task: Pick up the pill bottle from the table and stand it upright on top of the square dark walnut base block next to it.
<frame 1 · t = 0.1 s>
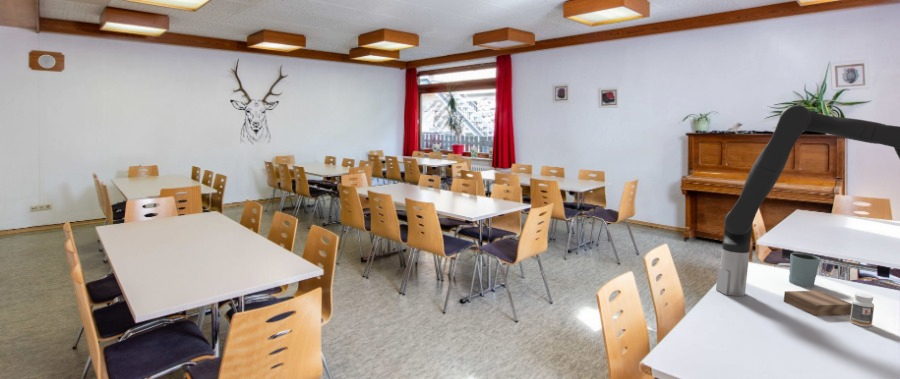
walnut base: (816, 308, 175), on the table
green plant pot: (801, 284, 203), on the table
pill bottle: (860, 324, 162), on the table
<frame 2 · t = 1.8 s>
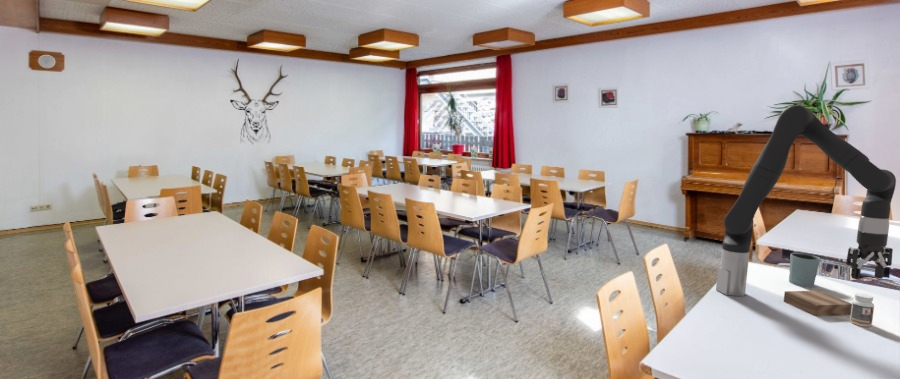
hand: (866, 278, 160), 16 cm above the table, tool pointing down, fingers open, 8 cm apart
nothing on the table moved.
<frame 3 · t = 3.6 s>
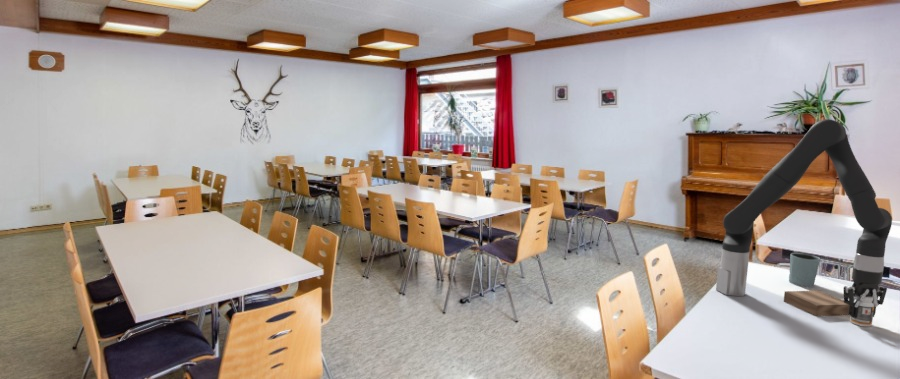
hand: (861, 316, 161), 3 cm above the table, tool pointing down, fingers closed on pill bottle, 5 cm apart
pill bottle: (860, 324, 162), on the table, touching gripper
everything else where it was.
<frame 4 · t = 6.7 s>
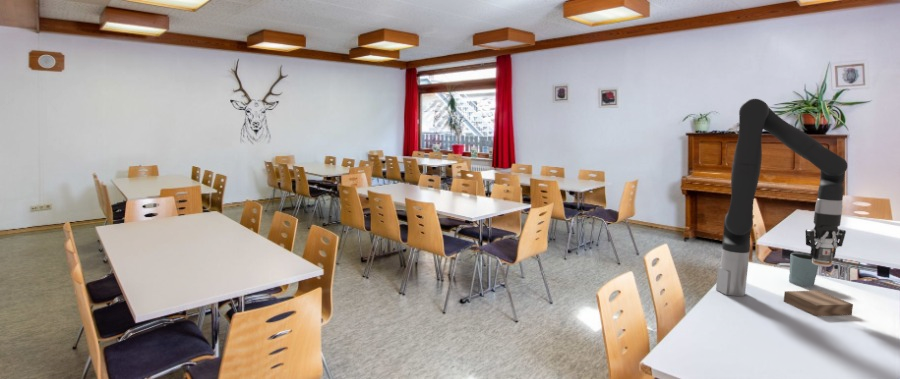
hand: (822, 257, 173), 19 cm above the table, tool pointing down, fingers closed on pill bottle, 5 cm apart
pill bottle: (821, 265, 173), point 16 cm above the table, touching gripper
everything else where it was.
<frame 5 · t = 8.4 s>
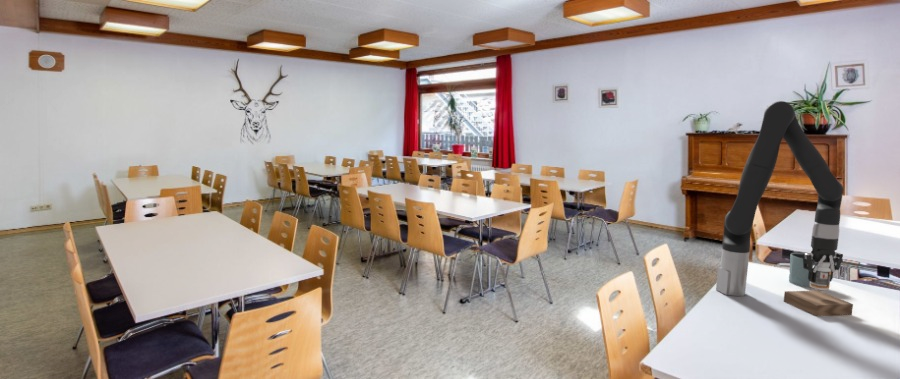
hand: (819, 281, 174), 10 cm above the table, tool pointing down, fingers closed on pill bottle, 5 cm apart
pill bottle: (818, 288, 174), point 7 cm above the table, touching gripper
everything else where it was.
when the fingers open (8 cm above the table, at t = 10.0 s): pill bottle drops 1 cm, resting on walnut base.
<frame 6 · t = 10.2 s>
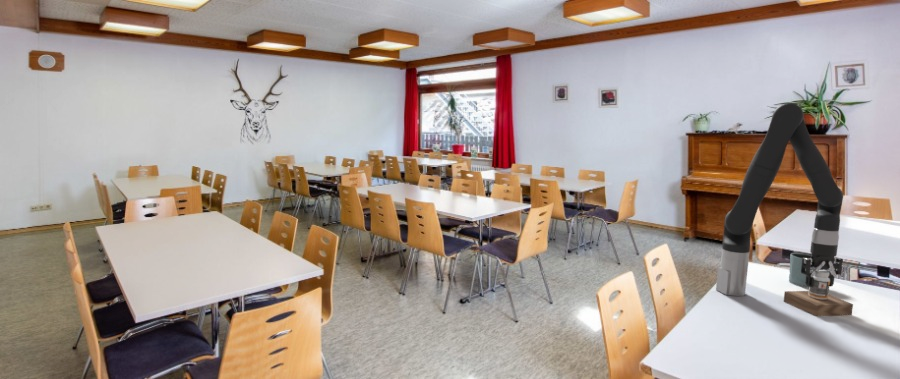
hand: (819, 285, 174), 8 cm above the table, tool pointing down, fingers open, 7 cm apart
pill bottle: (817, 297, 175), point 4 cm above the table, touching walnut base
everything else where it was.
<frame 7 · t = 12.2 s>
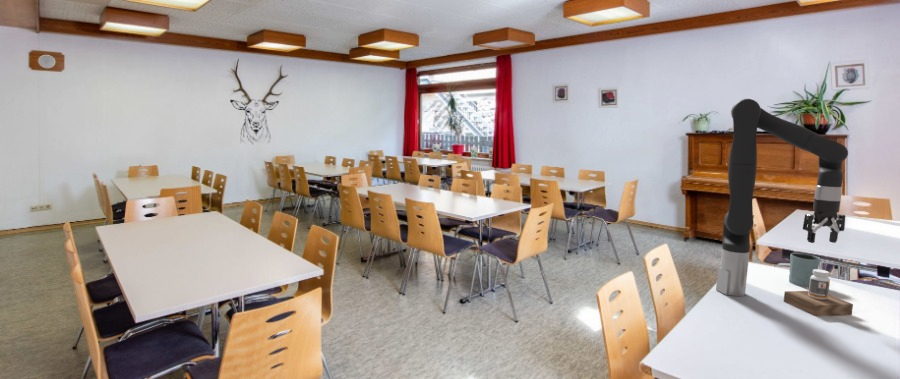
hand: (821, 242, 175), 24 cm above the table, tool pointing down, fingers open, 8 cm apart
nothing on the table moved.
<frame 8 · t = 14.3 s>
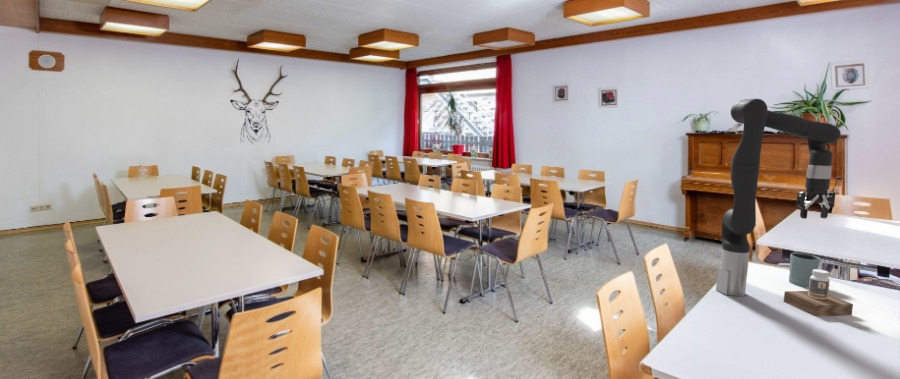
hand: (813, 218, 188), 30 cm above the table, tool pointing down, fingers open, 8 cm apart
nothing on the table moved.
at the end: pill bottle inside the target area on the walnut base (0.1 cm from its centre), point 3.8 cm above the walnut base's base; pill bottle tilted 0°; the gripper is holding nothing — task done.
